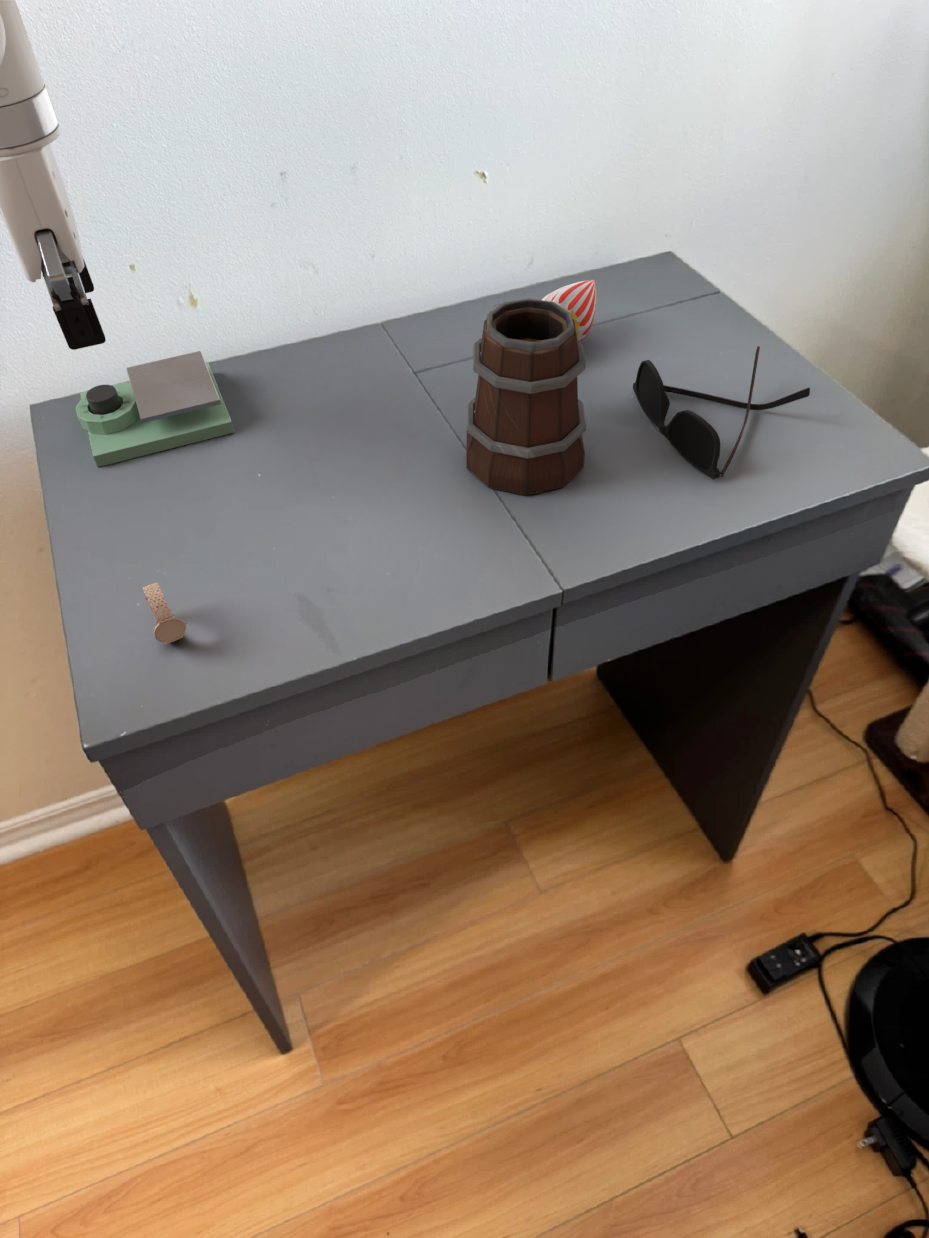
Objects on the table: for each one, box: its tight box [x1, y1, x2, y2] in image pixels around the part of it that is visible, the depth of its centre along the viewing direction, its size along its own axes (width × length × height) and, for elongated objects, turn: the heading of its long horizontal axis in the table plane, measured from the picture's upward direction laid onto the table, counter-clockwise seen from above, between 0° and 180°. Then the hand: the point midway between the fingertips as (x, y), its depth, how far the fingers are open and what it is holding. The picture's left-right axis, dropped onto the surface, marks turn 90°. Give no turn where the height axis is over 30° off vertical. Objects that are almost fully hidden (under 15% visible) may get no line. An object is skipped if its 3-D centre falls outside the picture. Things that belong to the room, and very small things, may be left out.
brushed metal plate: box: [126, 350, 221, 423], centre depth 91 cm, size 8×10×1 cm
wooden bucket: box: [465, 297, 587, 496], centre depth 83 cm, size 16×12×15 cm
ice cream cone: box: [541, 279, 597, 342], centre depth 98 cm, size 6×6×20 cm
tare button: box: [86, 384, 121, 415], centre depth 90 cm, size 3×3×2 cm
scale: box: [75, 362, 235, 468], centre depth 92 cm, size 14×12×3 cm
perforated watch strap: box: [141, 581, 188, 645], centre depth 71 cm, size 3×5×5 cm, turn 30°
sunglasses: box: [632, 345, 811, 480], centre depth 89 cm, size 17×14×5 cm
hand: (83, 318), depth 81 cm, fingers open, 9 cm apart
